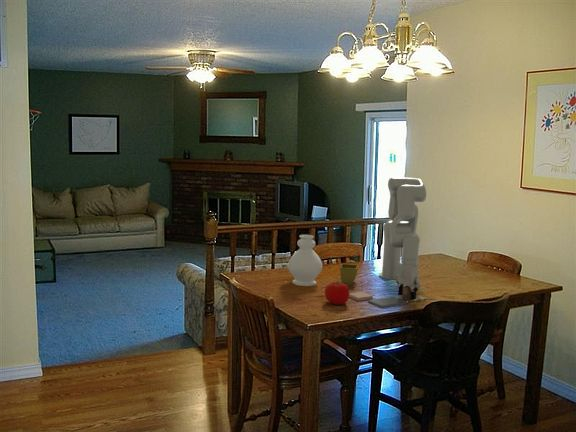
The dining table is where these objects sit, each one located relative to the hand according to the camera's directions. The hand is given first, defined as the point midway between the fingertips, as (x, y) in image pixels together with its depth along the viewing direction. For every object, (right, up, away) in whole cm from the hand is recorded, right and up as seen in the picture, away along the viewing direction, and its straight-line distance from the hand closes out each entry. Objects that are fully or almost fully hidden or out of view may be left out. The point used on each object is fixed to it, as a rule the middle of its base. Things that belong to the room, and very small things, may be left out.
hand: (406, 297), depth 300 cm
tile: (-18, 0, +4) cm, 19 cm away
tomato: (-35, -2, -9) cm, 36 cm away
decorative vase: (-49, +4, +25) cm, 55 cm away
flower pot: (-26, +4, +30) cm, 39 cm away
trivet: (-10, -2, -5) cm, 11 cm away
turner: (+4, -2, +3) cm, 5 cm away
